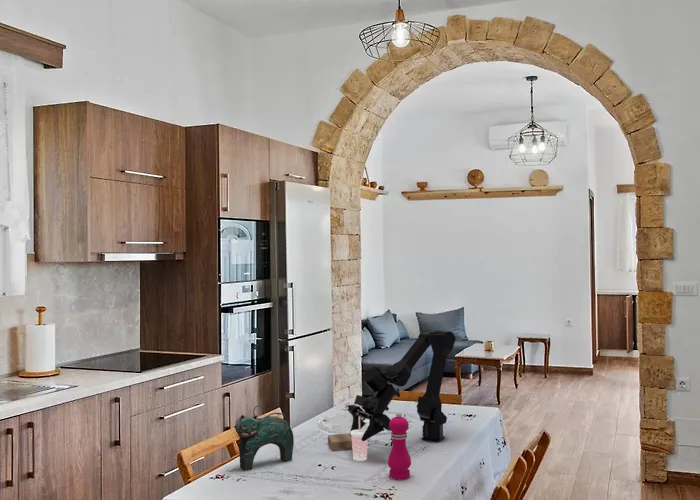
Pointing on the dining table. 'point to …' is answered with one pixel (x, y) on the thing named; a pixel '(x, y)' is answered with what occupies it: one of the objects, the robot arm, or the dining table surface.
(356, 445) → the beverage cup
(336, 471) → the dining table surface
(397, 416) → the pepper mill
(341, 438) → the walnut block
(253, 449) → the ceramic cat
